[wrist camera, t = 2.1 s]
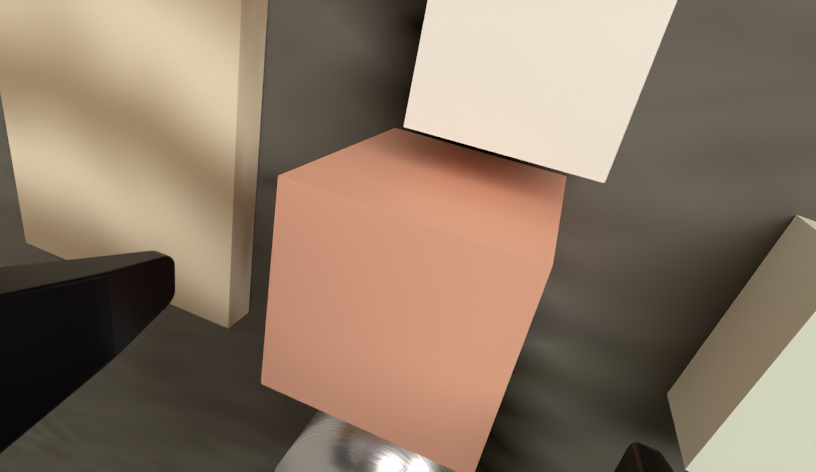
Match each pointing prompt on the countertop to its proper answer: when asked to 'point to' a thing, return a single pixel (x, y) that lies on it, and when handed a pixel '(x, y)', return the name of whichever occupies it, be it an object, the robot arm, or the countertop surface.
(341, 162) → the terracotta block
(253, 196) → the birch board
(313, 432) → the grey cylinder
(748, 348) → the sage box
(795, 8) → the countertop surface
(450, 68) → the cream cube
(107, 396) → the countertop surface
